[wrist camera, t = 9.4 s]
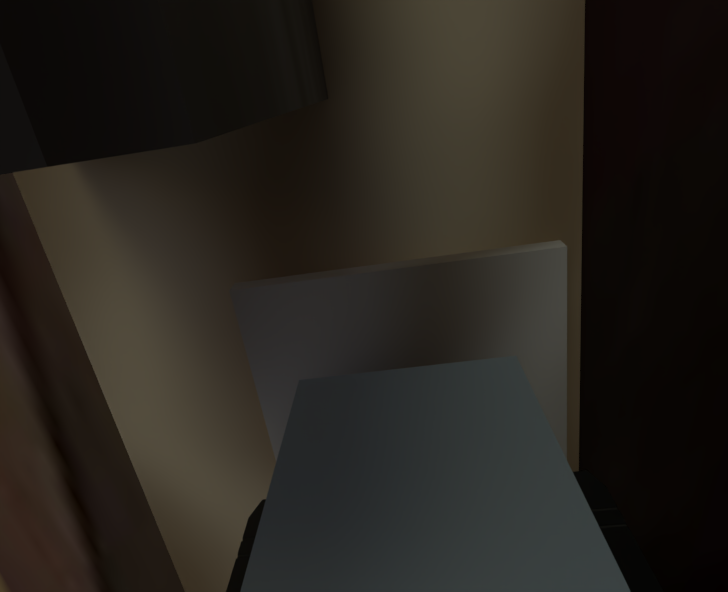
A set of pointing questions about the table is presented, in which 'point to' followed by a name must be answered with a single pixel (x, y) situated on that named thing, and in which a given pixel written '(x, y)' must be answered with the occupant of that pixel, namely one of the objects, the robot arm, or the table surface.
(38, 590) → the table surface
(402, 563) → the block
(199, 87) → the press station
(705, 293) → the table surface
